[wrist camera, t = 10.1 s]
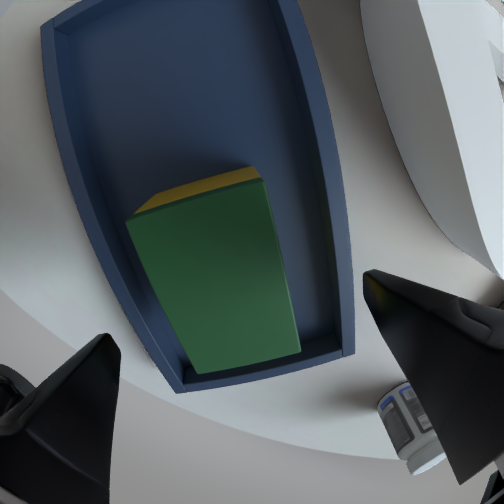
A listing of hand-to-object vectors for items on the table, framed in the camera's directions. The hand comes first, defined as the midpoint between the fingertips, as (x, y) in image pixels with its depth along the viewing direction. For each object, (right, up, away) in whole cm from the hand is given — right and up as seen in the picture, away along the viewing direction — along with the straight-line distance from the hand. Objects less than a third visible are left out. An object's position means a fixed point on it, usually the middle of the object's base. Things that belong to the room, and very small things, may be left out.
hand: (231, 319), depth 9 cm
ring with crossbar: (+20, +14, +1) cm, 25 cm away
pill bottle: (+14, -11, +12) cm, 22 cm away
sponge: (-1, +2, +4) cm, 5 cm away
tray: (-1, +5, +3) cm, 6 cm away
